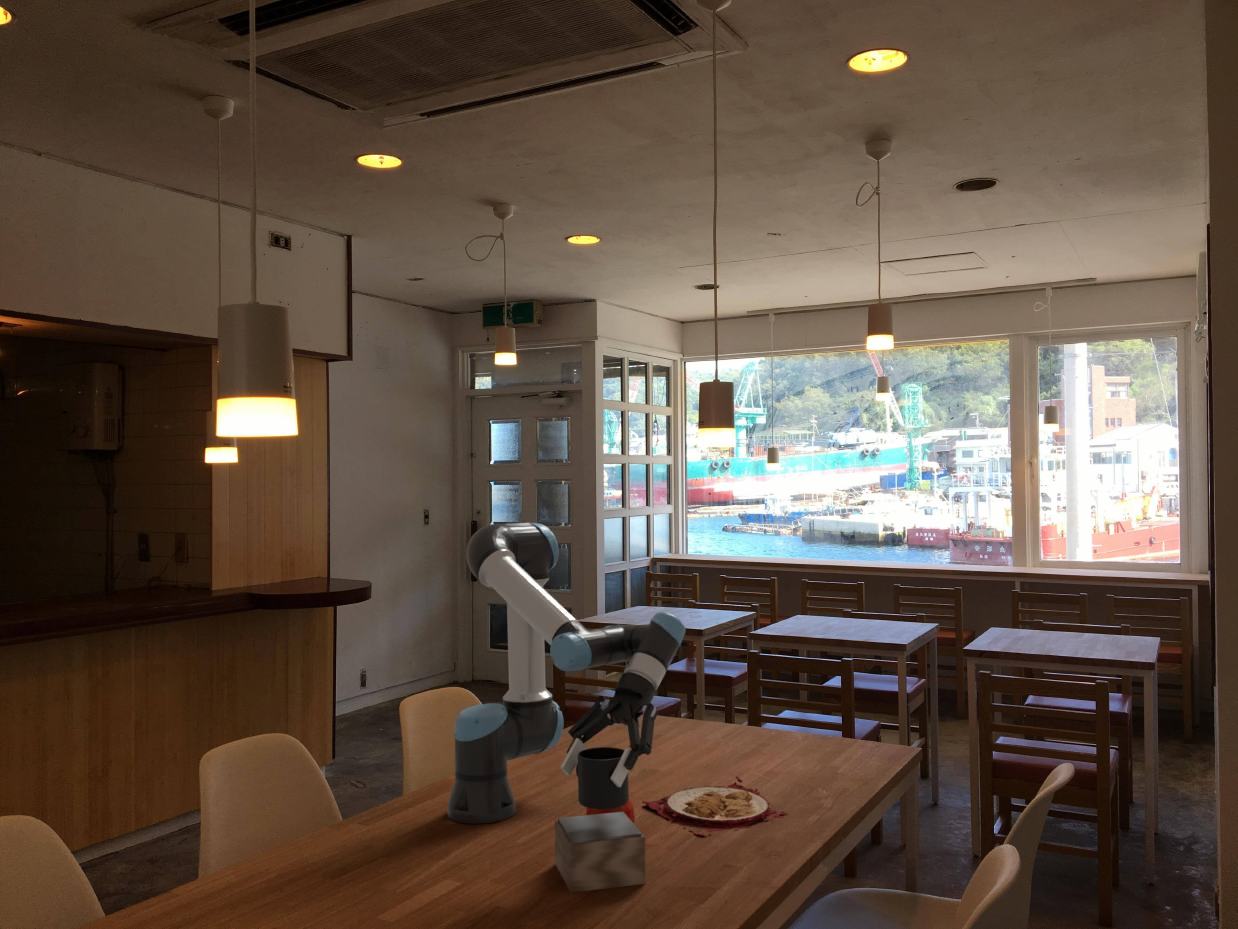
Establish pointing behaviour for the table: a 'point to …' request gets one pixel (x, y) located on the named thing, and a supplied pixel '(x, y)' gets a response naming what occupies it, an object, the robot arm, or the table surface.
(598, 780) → the mug
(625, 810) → the apple
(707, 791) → the plate with food
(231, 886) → the table surface
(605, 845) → the grey square box
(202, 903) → the table surface
